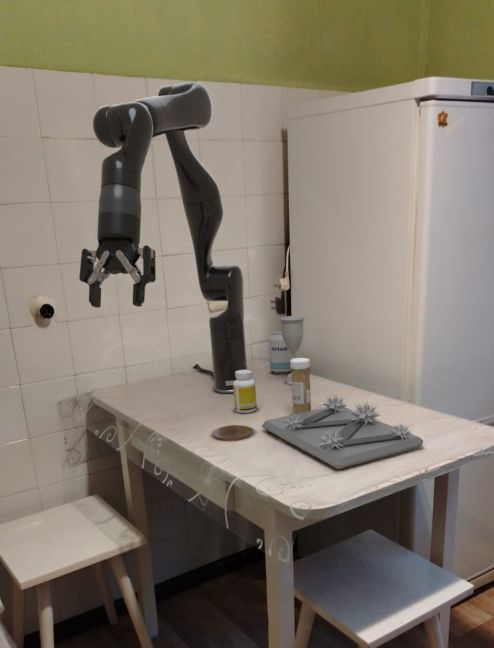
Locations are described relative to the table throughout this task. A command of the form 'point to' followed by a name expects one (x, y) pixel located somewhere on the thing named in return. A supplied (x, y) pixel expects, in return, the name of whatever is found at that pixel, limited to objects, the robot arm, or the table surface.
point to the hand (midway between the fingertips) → (116, 306)
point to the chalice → (292, 335)
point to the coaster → (232, 432)
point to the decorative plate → (343, 434)
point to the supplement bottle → (244, 392)
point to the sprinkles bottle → (300, 385)
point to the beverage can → (279, 354)
